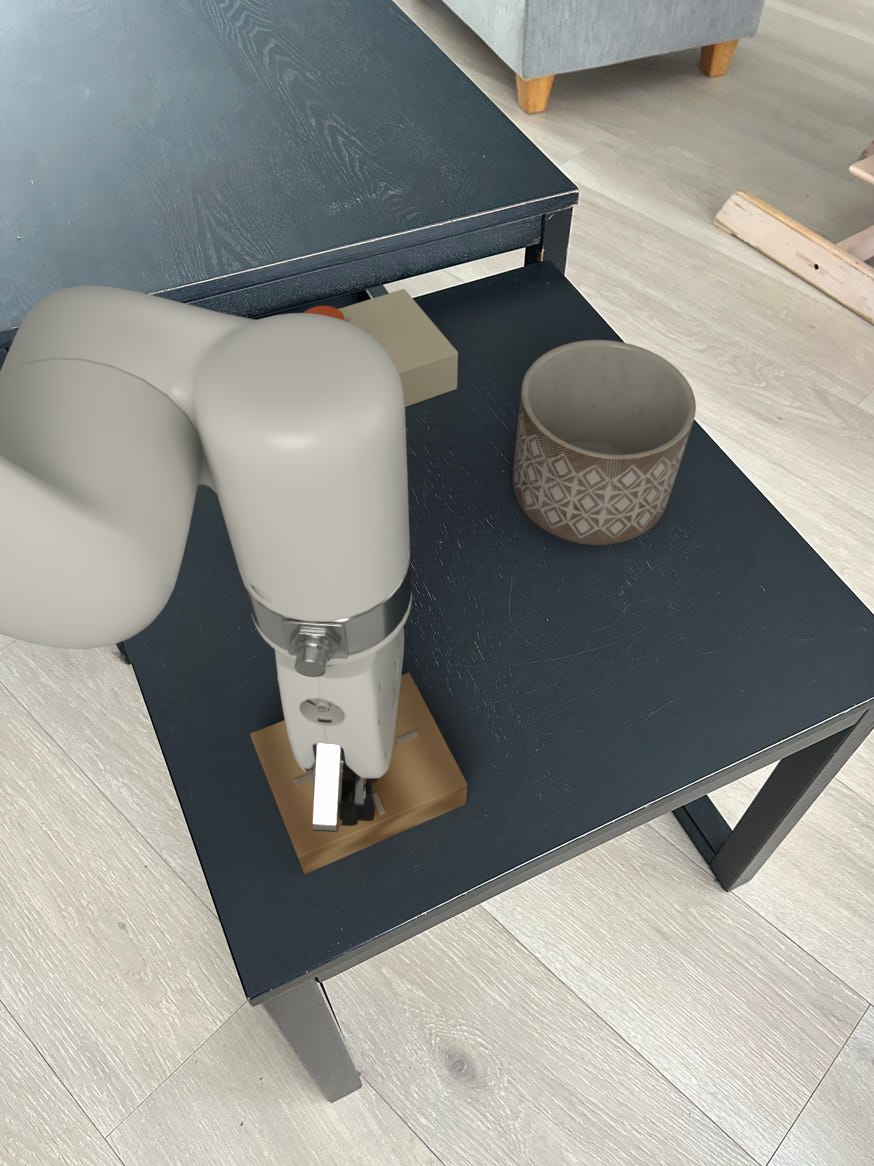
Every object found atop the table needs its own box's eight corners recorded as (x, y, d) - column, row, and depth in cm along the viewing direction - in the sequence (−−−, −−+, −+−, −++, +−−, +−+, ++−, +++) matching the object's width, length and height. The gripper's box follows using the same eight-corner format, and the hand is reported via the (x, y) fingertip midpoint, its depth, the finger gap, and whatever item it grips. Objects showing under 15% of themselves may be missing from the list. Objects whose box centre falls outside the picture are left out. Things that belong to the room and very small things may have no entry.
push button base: (312, 440, 76) (304, 383, 71) (266, 370, 81) (255, 312, 76) (457, 389, 80) (458, 332, 75) (405, 325, 85) (403, 268, 80)
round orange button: (313, 356, 74) (311, 338, 72) (295, 331, 75) (293, 313, 74) (353, 343, 75) (352, 325, 73) (335, 318, 76) (333, 300, 75)
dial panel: (304, 875, 55) (297, 856, 53) (257, 754, 60) (248, 732, 57) (466, 804, 58) (467, 783, 56) (410, 694, 63) (409, 670, 60)
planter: (603, 421, 79) (624, 320, 70) (697, 515, 73) (732, 417, 64) (481, 474, 75) (488, 373, 66) (571, 578, 69) (590, 482, 60)
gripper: (390, 755, 36) (403, 897, 51) (426, 450, 46) (428, 643, 61) (204, 743, 36) (270, 888, 51) (280, 440, 46) (317, 635, 61)
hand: (356, 754), depth 56 cm, fingers open, 7 cm apart
